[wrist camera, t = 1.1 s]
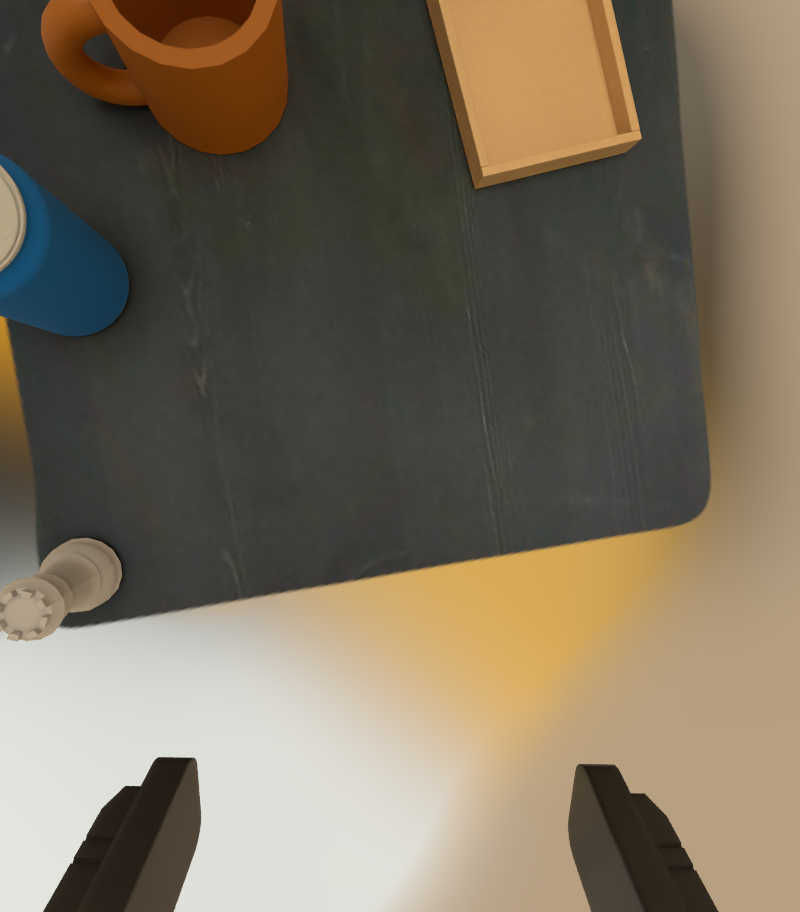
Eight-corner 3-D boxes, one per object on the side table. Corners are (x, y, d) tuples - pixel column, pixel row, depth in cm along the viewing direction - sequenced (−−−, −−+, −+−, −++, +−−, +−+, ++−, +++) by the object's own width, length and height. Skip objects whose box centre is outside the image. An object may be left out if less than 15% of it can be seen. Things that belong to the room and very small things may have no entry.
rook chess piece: (111, 527, 35) (51, 559, 27) (134, 593, 35) (81, 643, 27) (38, 548, 34) (-45, 587, 26) (62, 614, 35) (-13, 673, 27)
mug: (74, 1, 32) (-17, -156, 24) (281, 7, 34) (269, -138, 25) (93, 159, 33) (11, 65, 24) (295, 157, 35) (287, 68, 26)
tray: (421, -18, 35) (427, -44, 33) (579, -48, 37) (594, -75, 35) (474, 189, 37) (483, 176, 35) (625, 152, 38) (642, 138, 36)
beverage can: (21, 222, 33) (-145, 112, 21) (136, 238, 34) (39, 141, 22) (16, 332, 33) (-151, 284, 21) (130, 344, 34) (31, 305, 22)
